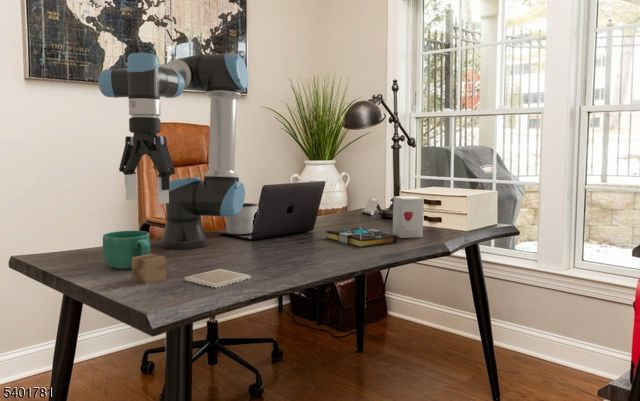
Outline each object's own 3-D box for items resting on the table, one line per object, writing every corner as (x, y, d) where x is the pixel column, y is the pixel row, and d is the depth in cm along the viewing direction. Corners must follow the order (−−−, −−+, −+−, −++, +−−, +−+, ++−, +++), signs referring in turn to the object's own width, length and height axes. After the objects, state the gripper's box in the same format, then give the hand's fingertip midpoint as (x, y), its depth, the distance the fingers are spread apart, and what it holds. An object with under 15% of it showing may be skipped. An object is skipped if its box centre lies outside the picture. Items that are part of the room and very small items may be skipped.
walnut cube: (132, 280, 138) (131, 257, 137) (152, 275, 143) (151, 253, 142) (146, 284, 134) (145, 260, 134) (166, 279, 139) (165, 256, 138)
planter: (222, 231, 212) (221, 203, 211) (252, 229, 218) (251, 202, 217) (231, 236, 201) (231, 207, 200) (263, 234, 207) (263, 205, 206)
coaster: (184, 280, 138) (184, 277, 138) (220, 271, 147) (219, 268, 147) (216, 288, 130) (216, 284, 130) (251, 278, 140) (251, 275, 140)
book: (398, 244, 191) (398, 230, 190) (361, 249, 181) (361, 234, 181) (360, 235, 208) (360, 222, 208) (324, 239, 199) (324, 226, 198)
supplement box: (400, 238, 200) (401, 198, 198) (392, 234, 208) (392, 196, 207) (423, 237, 202) (424, 198, 200) (413, 233, 210) (414, 195, 209)
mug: (96, 266, 153) (95, 233, 152) (138, 259, 161) (137, 228, 160) (121, 277, 141) (120, 241, 140) (165, 269, 150) (164, 236, 149)
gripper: (103, 117, 139) (106, 199, 141) (162, 114, 123) (165, 206, 126) (129, 118, 144) (131, 197, 147) (188, 116, 129) (190, 203, 132)
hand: (147, 201), depth 136 cm, fingers open, 13 cm apart
